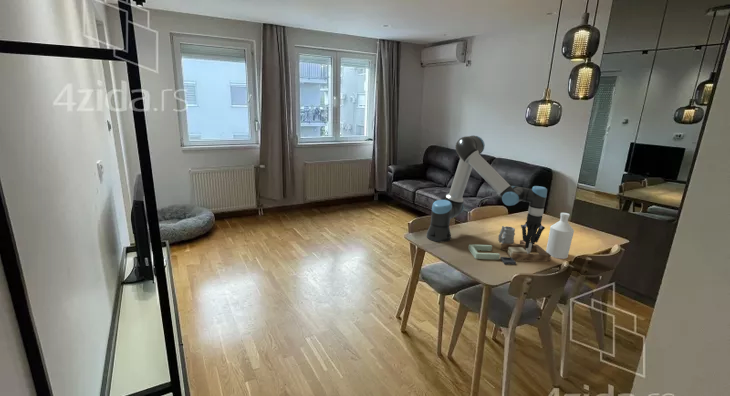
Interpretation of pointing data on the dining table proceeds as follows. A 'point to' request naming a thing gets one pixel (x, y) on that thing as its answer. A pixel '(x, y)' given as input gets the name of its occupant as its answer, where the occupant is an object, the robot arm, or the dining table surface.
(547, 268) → the dining table surface
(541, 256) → the shallow wooden box
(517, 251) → the beech block
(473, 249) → the dock
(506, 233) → the mug
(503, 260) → the tray
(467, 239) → the dining table surface
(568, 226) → the bottle
